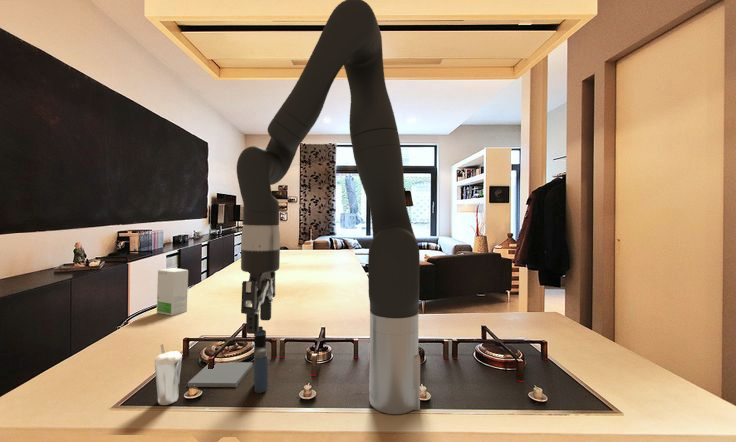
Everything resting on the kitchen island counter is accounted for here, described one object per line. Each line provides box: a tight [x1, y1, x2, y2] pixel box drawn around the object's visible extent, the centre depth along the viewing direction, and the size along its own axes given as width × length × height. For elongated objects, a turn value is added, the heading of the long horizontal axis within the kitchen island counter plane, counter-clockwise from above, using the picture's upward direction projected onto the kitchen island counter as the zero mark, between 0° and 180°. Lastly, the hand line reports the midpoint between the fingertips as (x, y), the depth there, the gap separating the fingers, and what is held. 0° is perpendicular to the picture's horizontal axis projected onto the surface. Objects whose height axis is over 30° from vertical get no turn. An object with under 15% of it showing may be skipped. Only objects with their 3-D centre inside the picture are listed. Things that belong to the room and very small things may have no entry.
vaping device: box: [253, 325, 269, 394], centre depth 71 cm, size 3×5×12 cm, turn 21°
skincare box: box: [156, 267, 189, 317], centre depth 125 cm, size 8×7×16 cm
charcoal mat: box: [187, 361, 254, 388], centre depth 76 cm, size 10×10×1 cm
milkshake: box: [153, 343, 183, 406], centre depth 66 cm, size 4×5×10 cm
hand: (259, 326), depth 71 cm, fingers open, 8 cm apart
